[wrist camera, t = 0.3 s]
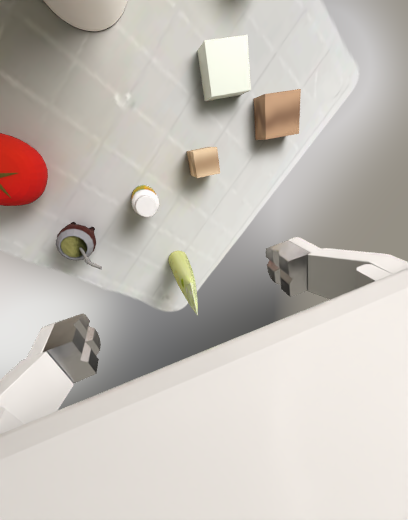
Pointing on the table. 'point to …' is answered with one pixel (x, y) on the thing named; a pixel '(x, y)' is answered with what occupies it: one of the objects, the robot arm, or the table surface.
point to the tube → (184, 277)
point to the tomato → (20, 172)
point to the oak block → (203, 162)
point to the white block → (224, 67)
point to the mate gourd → (77, 242)
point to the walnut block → (277, 114)
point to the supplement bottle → (145, 201)
